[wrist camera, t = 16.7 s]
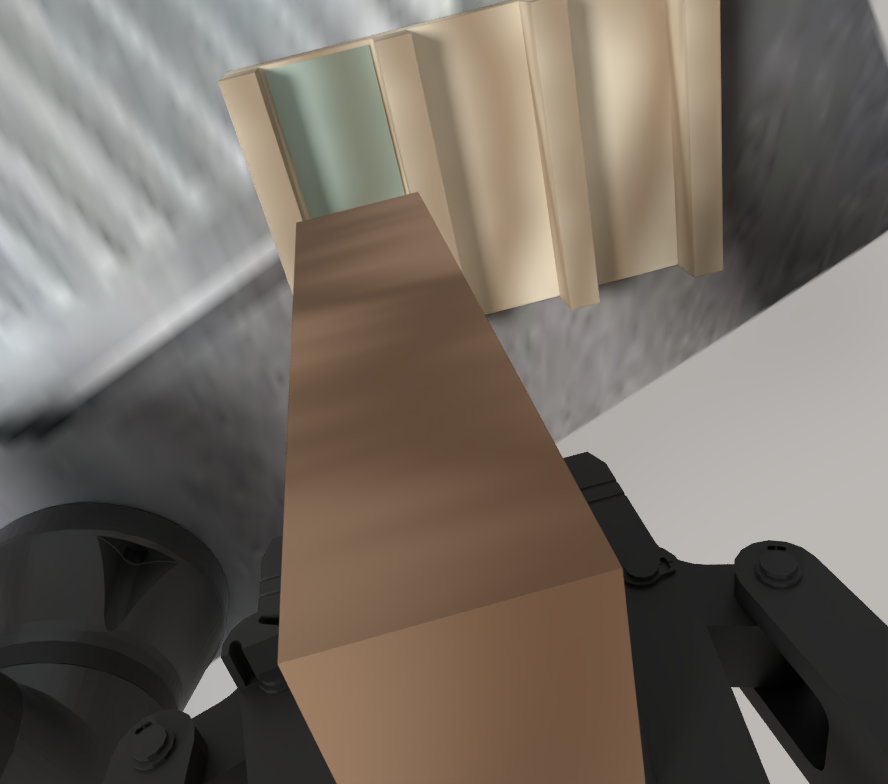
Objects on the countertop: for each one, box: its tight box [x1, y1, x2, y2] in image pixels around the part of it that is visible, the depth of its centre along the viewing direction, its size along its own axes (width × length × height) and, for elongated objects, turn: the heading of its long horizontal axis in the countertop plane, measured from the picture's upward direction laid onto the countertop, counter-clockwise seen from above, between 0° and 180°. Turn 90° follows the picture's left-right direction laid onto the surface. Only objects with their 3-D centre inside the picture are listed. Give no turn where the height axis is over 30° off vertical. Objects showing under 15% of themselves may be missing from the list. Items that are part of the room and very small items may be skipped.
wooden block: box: [278, 192, 645, 784], centre depth 14 cm, size 3×10×13 cm, turn 12°
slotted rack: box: [218, 0, 723, 315], centre depth 34 cm, size 21×14×4 cm, turn 102°
